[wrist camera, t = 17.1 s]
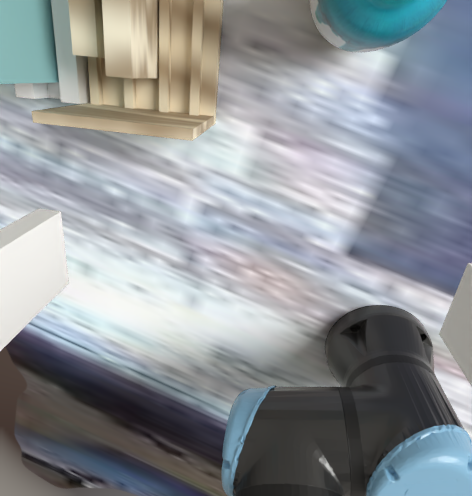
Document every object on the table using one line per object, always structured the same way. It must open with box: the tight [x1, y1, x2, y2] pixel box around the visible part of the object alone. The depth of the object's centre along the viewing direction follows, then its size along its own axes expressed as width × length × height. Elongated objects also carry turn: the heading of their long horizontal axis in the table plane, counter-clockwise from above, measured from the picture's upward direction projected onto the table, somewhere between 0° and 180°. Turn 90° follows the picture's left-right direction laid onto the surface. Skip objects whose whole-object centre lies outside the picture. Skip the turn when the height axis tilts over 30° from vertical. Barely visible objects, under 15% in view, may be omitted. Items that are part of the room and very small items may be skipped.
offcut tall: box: [102, 0, 159, 79], centre depth 36 cm, size 13×2×9 cm, turn 175°
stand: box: [14, 0, 91, 104], centre depth 40 cm, size 20×8×4 cm, turn 175°
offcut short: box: [68, 0, 105, 58], centre depth 37 cm, size 10×2×7 cm, turn 175°
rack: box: [32, 0, 223, 141], centre depth 35 cm, size 22×15×14 cm
